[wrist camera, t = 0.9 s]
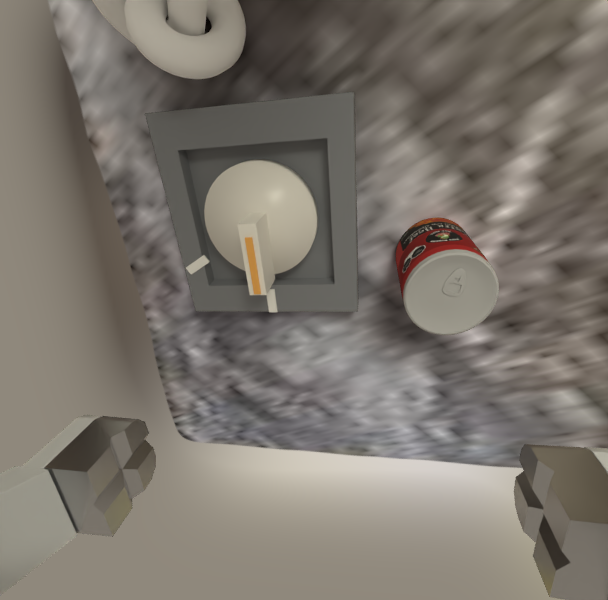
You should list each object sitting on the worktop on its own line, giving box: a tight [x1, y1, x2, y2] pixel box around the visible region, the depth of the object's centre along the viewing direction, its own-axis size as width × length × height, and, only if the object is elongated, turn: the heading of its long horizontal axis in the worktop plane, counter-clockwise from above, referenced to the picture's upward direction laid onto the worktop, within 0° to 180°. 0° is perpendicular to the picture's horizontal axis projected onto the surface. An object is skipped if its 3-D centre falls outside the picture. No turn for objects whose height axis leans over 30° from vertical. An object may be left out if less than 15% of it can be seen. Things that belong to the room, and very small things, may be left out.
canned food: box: [396, 218, 499, 335], centre depth 35 cm, size 8×8×11 cm
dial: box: [204, 159, 318, 295], centre depth 37 cm, size 12×12×6 cm
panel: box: [145, 92, 358, 312], centre depth 39 cm, size 22×20×3 cm
